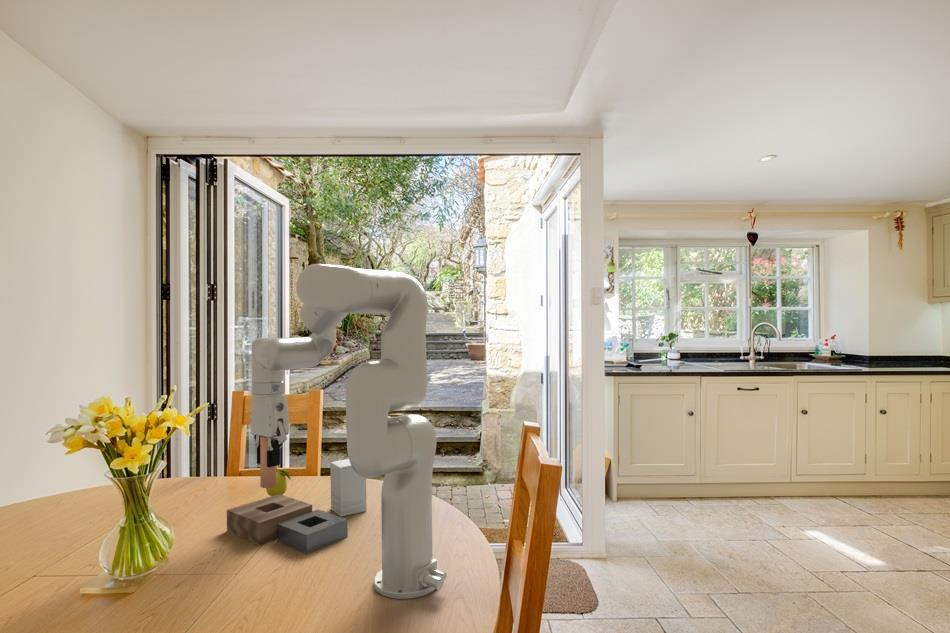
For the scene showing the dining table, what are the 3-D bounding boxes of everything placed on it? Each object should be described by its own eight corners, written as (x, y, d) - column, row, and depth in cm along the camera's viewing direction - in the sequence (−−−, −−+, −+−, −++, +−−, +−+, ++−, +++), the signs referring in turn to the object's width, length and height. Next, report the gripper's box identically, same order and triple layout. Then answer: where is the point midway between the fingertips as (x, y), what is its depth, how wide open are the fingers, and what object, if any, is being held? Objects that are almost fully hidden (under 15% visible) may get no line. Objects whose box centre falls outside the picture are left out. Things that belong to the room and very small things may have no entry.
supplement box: (367, 511, 139) (366, 462, 139) (339, 517, 135) (339, 467, 135) (356, 503, 145) (356, 457, 145) (330, 509, 141) (329, 461, 141)
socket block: (312, 525, 130) (312, 504, 130) (259, 545, 118) (259, 522, 118) (279, 513, 138) (279, 494, 138) (226, 530, 127) (226, 509, 127)
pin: (279, 485, 129) (279, 435, 129) (265, 489, 126) (265, 438, 126) (271, 482, 131) (270, 433, 131) (257, 486, 128) (257, 436, 128)
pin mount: (347, 536, 122) (347, 519, 122) (306, 553, 114) (306, 535, 114) (318, 526, 129) (317, 509, 129) (277, 541, 120) (277, 523, 120)
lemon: (259, 499, 149) (259, 463, 149) (277, 493, 154) (277, 459, 154) (273, 504, 145) (273, 467, 145) (292, 498, 150) (291, 462, 150)
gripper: (302, 390, 126) (302, 466, 127) (263, 384, 136) (263, 455, 136) (273, 393, 120) (273, 474, 121) (235, 387, 130) (235, 462, 130)
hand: (268, 463), depth 128 cm, fingers closed on pin, 3 cm apart
